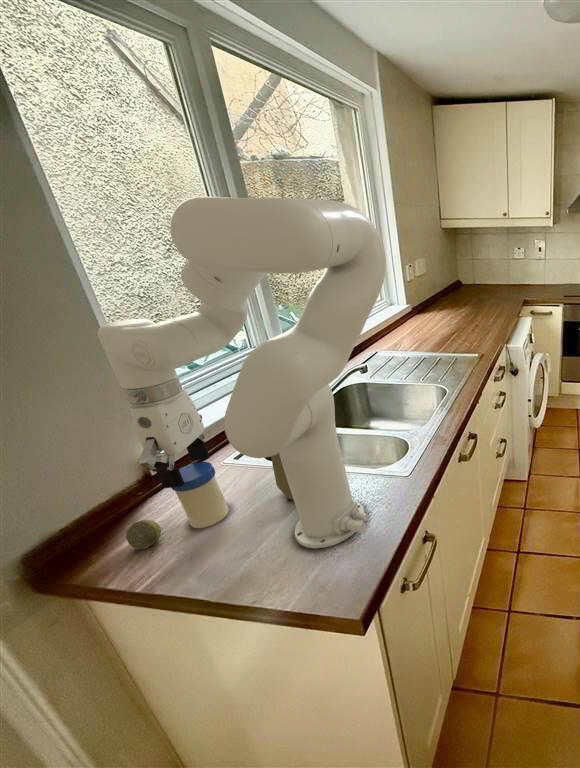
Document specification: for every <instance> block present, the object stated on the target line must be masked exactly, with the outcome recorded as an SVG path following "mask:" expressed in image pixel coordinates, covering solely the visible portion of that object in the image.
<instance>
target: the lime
mask: <svg viewBox="0 0 580 768" xmlns="http://www.w3.org/2000/svg"><path fill="white" fill-rule="evenodd" d="M161 534H162V528H161V526H160V525H159V524H158V523H157V522H156V521H153V520H150V519H142V520H138V521H135V522H134V523H133V524H131V525H130V526H129V527H128V529H127V531H126V534H125V539H126V541H127V543H128V545H129V546H131V548H134V549H136V550H144V549H148V548H149V547H151V546H152V545H154V544H155V543H157V542H158V540H159V539H160V537H161Z"/></svg>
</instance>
